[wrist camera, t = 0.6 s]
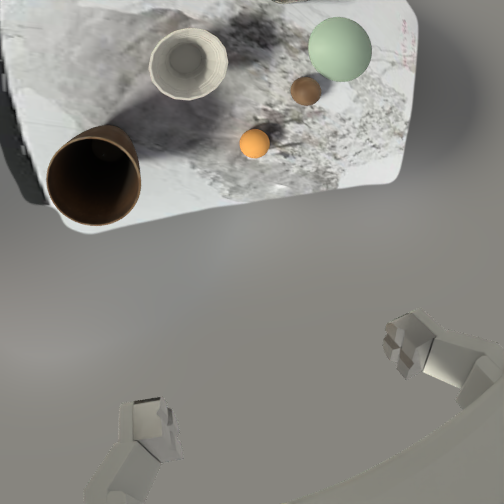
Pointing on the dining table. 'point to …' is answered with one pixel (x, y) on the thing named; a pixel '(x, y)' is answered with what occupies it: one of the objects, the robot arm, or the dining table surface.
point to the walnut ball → (305, 91)
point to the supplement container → (287, 1)
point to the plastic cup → (188, 64)
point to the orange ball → (254, 143)
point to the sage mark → (339, 49)
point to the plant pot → (95, 176)
